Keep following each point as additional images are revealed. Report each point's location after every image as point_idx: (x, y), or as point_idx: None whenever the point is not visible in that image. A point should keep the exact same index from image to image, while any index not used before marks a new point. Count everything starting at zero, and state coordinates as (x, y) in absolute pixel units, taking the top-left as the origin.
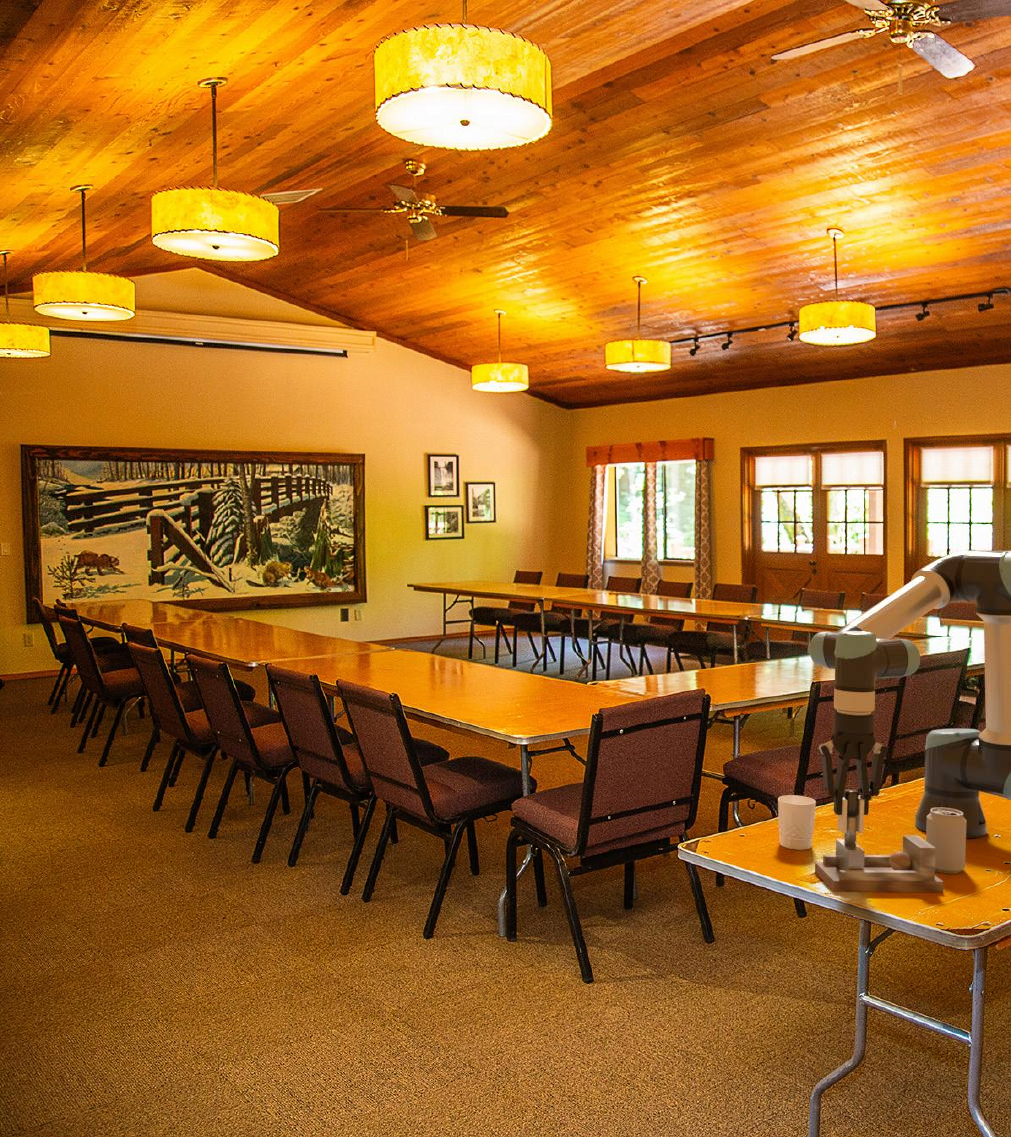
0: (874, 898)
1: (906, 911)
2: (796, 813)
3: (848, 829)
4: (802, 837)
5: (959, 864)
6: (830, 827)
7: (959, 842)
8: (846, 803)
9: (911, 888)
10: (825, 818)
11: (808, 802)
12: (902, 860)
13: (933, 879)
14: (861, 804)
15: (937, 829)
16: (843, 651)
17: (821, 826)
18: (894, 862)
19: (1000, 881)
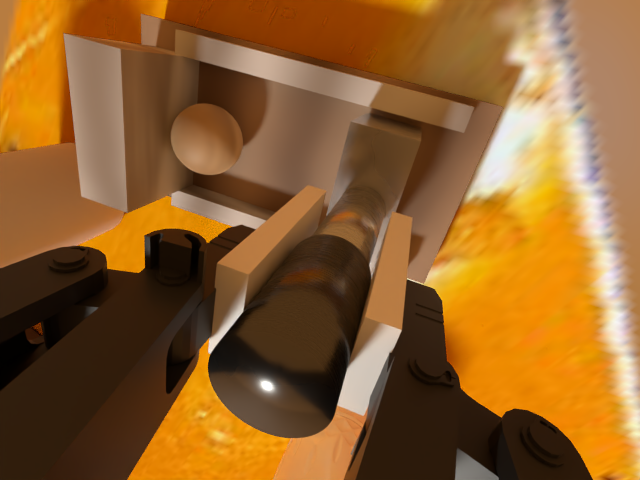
0: (402, 5)
1: None
2: None
3: (370, 224)
4: (340, 417)
5: (53, 145)
6: (213, 447)
7: None
8: (377, 299)
9: (245, 40)
10: (199, 476)
11: None
12: (206, 110)
13: (161, 41)
14: (257, 252)
15: (5, 201)
16: None
17: (226, 457)
18: (232, 127)
19: (4, 70)
